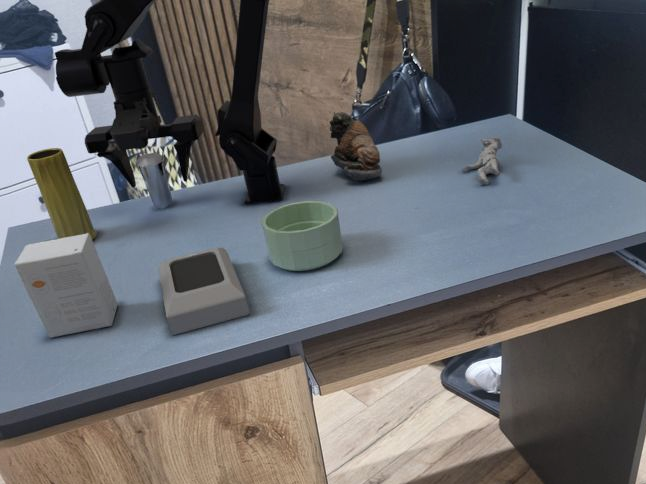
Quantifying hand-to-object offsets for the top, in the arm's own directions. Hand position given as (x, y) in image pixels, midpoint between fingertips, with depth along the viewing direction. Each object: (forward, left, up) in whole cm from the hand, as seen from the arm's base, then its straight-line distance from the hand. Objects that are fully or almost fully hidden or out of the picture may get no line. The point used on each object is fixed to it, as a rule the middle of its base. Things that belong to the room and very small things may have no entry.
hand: (160, 183), depth 111 cm
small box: (+38, -1, -4) cm, 38 cm away
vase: (+11, -12, -4) cm, 17 cm away
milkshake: (0, 0, -4) cm, 4 cm away
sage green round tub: (+26, +27, -4) cm, 38 cm away
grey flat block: (+35, +14, -4) cm, 38 cm away
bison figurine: (-4, +34, -4) cm, 34 cm away
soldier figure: (+2, +56, -4) cm, 56 cm away
